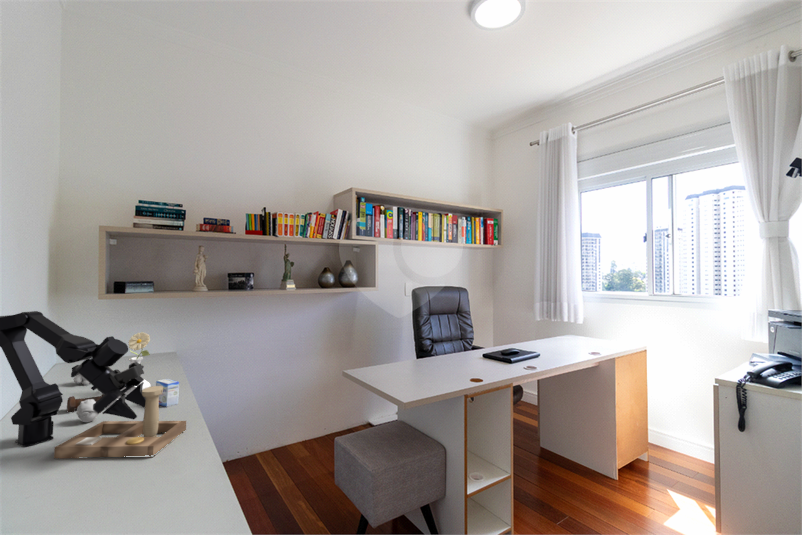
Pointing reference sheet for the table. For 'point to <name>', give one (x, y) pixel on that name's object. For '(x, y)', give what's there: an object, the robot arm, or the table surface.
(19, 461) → the table surface
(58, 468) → the table surface
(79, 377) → the chubby cartoon animal
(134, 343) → the flower in vase
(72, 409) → the bolt
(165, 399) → the medicine box
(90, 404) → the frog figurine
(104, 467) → the table surface
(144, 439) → the socket board
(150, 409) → the handle
